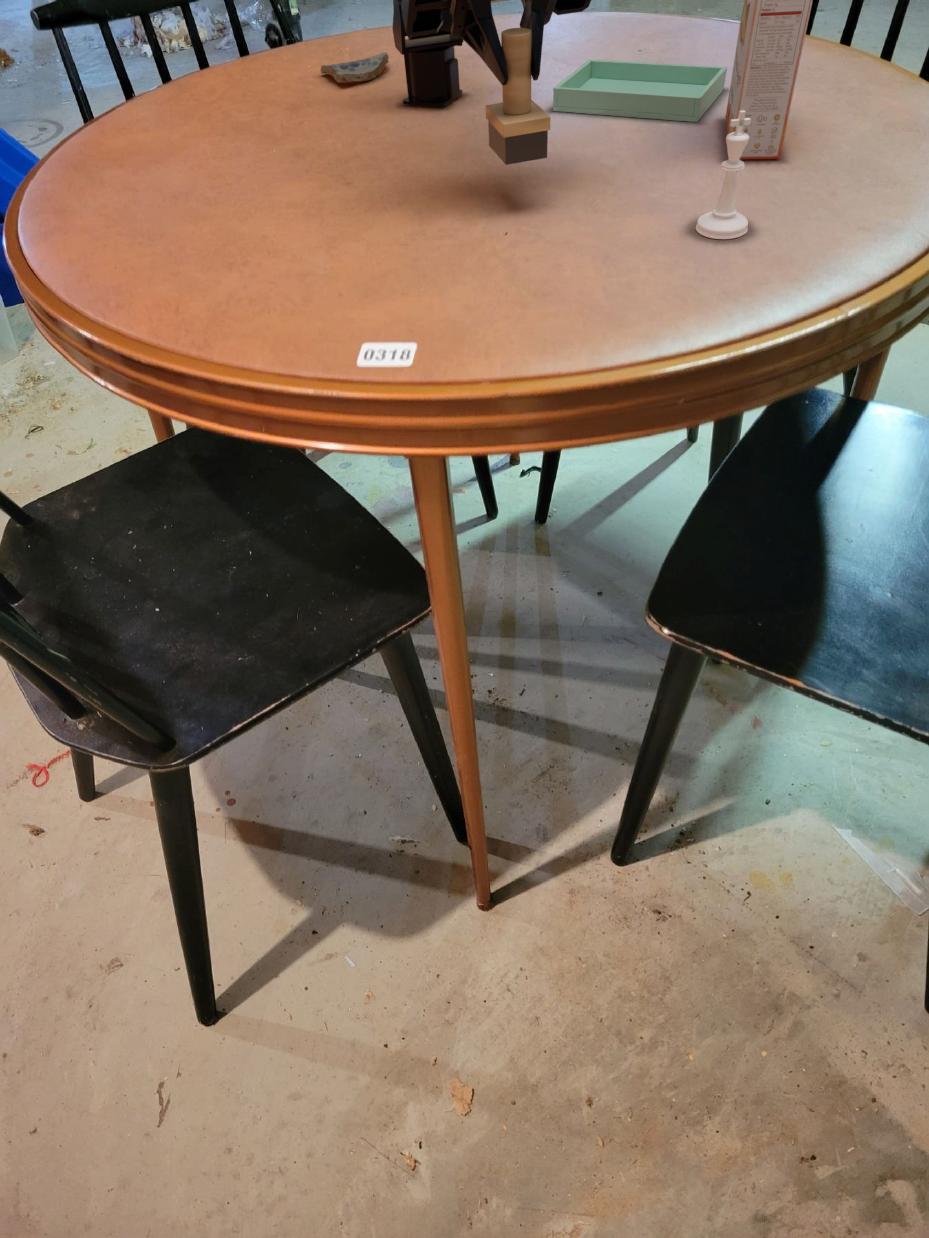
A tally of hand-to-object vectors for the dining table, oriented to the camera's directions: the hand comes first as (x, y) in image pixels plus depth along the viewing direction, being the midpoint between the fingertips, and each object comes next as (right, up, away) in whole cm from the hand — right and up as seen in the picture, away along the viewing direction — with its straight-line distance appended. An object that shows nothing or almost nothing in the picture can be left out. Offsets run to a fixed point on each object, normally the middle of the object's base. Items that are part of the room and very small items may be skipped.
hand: (521, 80), depth 74 cm
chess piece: (+20, -13, +2) cm, 24 cm away
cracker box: (+28, +5, +17) cm, 33 cm away
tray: (+18, +18, +29) cm, 39 cm away
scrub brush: (0, -3, +6) cm, 7 cm away
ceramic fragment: (-21, +32, +46) cm, 60 cm away
